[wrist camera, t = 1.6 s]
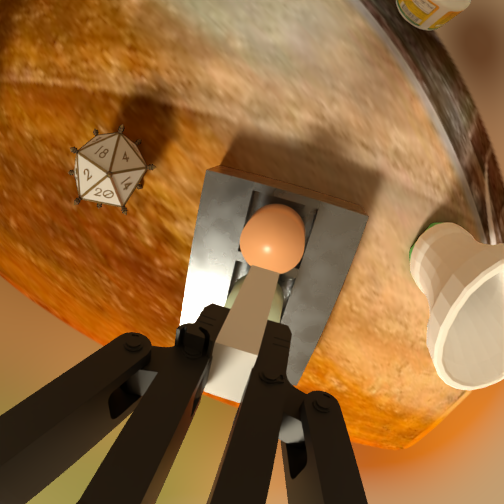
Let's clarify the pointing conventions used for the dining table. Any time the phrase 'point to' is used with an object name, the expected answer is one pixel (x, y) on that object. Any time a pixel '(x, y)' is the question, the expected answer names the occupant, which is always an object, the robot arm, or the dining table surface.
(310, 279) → the panel
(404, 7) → the supplement bottle
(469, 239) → the cup
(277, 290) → the sage button
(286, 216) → the terracotta button
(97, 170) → the game die
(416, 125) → the dining table surface
